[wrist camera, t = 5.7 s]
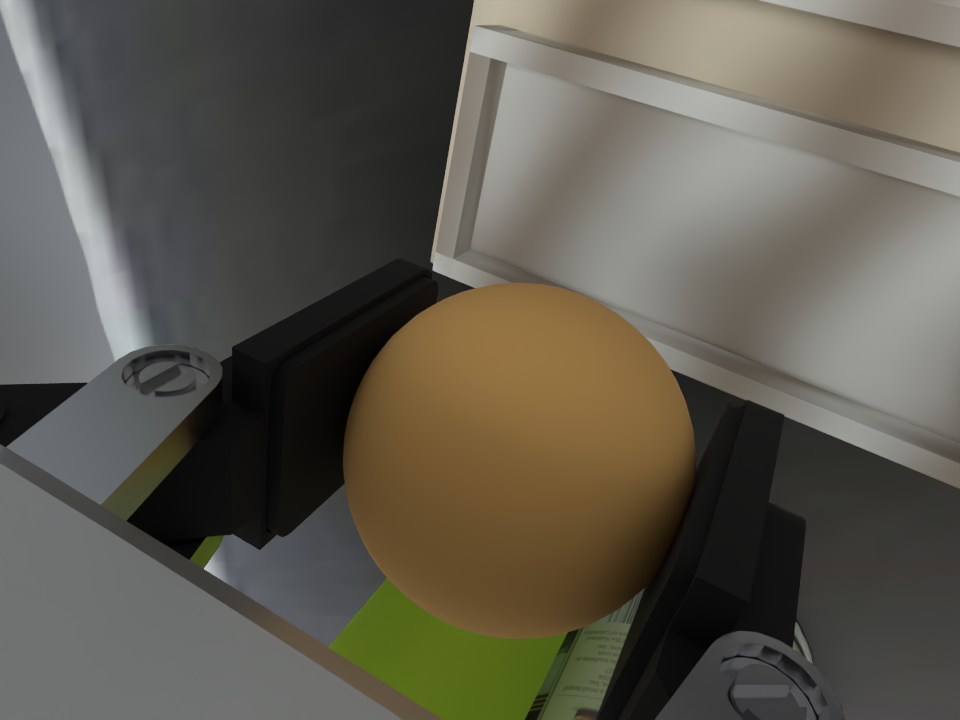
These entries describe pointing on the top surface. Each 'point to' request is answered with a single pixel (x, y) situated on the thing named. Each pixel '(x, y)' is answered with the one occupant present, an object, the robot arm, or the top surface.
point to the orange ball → (519, 460)
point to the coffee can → (595, 667)
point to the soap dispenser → (445, 660)
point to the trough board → (732, 194)
